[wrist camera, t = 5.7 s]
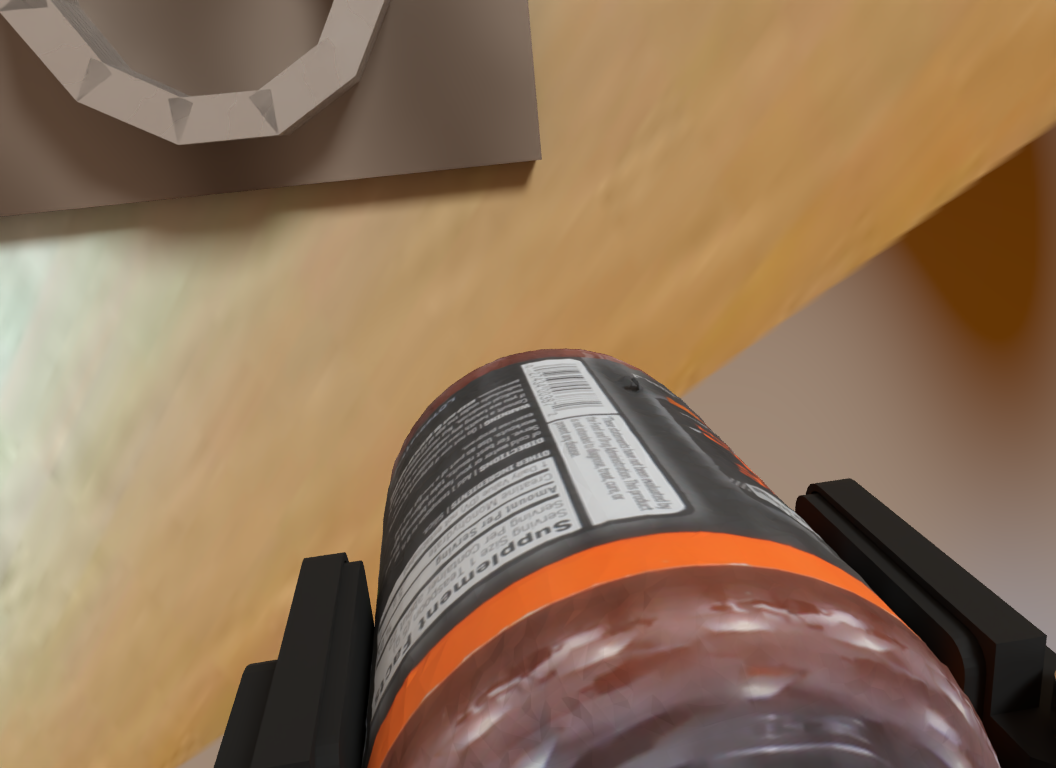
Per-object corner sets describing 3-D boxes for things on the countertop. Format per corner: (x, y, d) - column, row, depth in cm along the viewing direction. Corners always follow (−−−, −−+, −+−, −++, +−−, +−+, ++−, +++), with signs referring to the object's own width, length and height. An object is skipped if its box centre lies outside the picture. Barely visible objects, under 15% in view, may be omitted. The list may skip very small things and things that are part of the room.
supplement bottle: (755, 532, 16) (1417, 1314, 6) (494, 687, 17) (644, 1720, 6) (610, 271, 14) (1183, 694, 4) (317, 450, 15) (56, 1334, 4)
